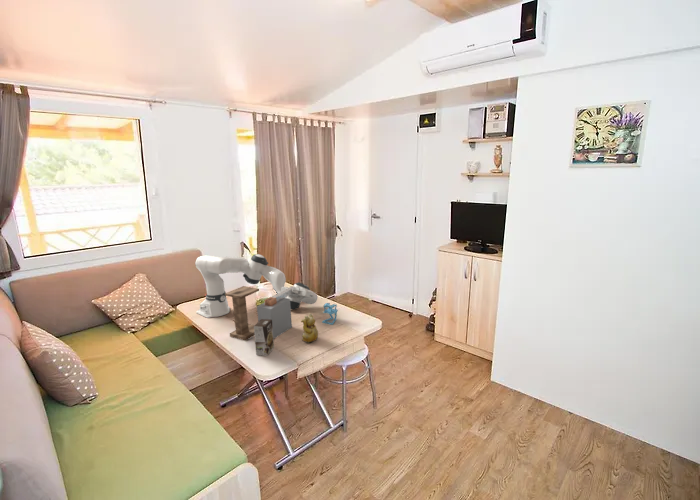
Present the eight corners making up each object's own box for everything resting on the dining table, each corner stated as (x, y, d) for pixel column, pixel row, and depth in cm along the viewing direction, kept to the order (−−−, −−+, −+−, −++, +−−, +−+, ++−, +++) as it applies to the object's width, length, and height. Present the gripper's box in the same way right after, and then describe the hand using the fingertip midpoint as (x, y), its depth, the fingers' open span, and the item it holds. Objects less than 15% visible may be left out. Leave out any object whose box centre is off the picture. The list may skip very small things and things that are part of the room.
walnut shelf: (230, 336, 202) (225, 293, 196) (247, 326, 214) (243, 286, 208) (245, 340, 197) (240, 296, 191) (262, 330, 209) (258, 288, 203)
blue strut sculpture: (339, 320, 220) (339, 301, 217) (332, 325, 213) (331, 306, 210) (329, 317, 224) (328, 299, 221) (321, 322, 217) (321, 304, 214)
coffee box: (267, 356, 180) (265, 326, 176) (255, 355, 181) (253, 325, 177) (274, 347, 188) (272, 319, 185) (263, 346, 190) (261, 318, 186)
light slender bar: (264, 305, 199) (264, 300, 199) (290, 290, 220) (290, 286, 219) (271, 306, 197) (270, 301, 197) (296, 291, 218) (296, 287, 217)
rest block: (259, 335, 202) (256, 306, 198) (278, 324, 217) (276, 296, 213) (273, 339, 197) (270, 309, 193) (291, 327, 212) (289, 298, 208)
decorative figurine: (308, 335, 201) (307, 310, 197) (321, 337, 198) (320, 312, 194) (300, 343, 192) (298, 317, 189) (313, 345, 189) (312, 319, 186)
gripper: (313, 301, 221) (301, 297, 209) (287, 296, 230) (274, 292, 218) (316, 291, 222) (304, 287, 210) (289, 287, 232) (277, 282, 220)
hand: (288, 289), depth 214 cm, fingers closed on light slender bar, 3 cm apart
